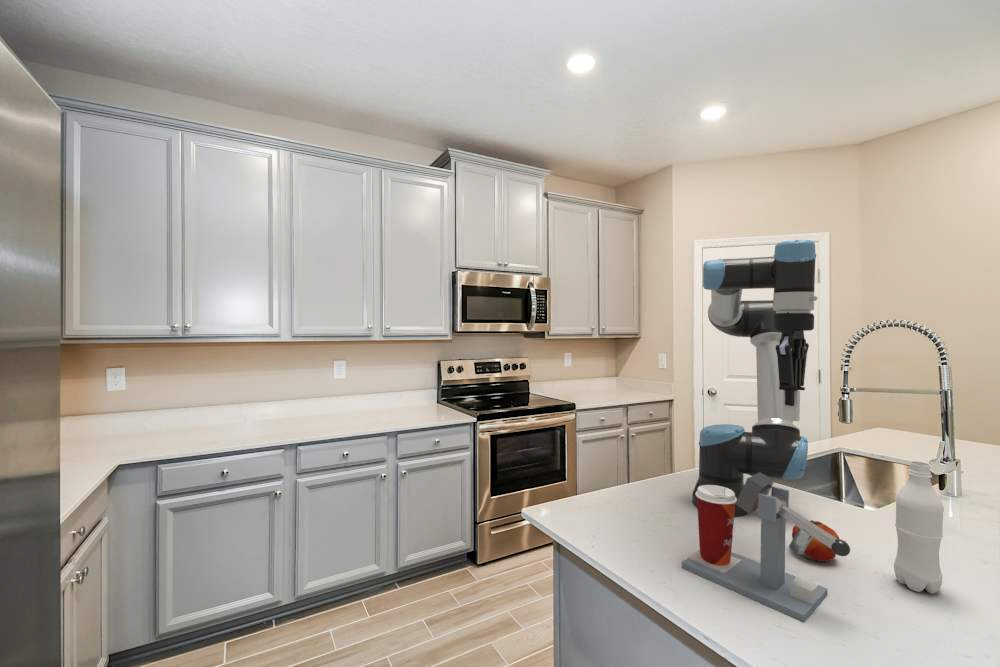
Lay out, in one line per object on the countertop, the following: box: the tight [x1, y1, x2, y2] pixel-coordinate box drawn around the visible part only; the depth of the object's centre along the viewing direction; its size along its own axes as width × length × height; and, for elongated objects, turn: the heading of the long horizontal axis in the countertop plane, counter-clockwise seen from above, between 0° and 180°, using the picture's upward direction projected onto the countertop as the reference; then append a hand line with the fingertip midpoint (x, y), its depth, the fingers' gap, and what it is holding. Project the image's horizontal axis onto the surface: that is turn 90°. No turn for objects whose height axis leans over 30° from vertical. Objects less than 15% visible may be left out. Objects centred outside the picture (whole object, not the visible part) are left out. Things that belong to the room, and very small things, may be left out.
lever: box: [735, 472, 851, 557], centre depth 87 cm, size 18×6×9 cm, turn 39°
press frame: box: [681, 485, 829, 623], centre depth 93 cm, size 23×13×20 cm, turn 39°
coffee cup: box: [695, 485, 737, 565], centre depth 99 cm, size 8×8×15 cm
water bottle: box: [893, 460, 945, 595], centre depth 91 cm, size 7×7×25 cm
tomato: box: [791, 519, 840, 562], centre depth 103 cm, size 9×9×8 cm
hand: (791, 419), depth 99 cm, fingers closed
